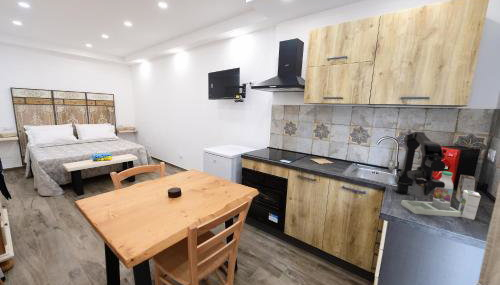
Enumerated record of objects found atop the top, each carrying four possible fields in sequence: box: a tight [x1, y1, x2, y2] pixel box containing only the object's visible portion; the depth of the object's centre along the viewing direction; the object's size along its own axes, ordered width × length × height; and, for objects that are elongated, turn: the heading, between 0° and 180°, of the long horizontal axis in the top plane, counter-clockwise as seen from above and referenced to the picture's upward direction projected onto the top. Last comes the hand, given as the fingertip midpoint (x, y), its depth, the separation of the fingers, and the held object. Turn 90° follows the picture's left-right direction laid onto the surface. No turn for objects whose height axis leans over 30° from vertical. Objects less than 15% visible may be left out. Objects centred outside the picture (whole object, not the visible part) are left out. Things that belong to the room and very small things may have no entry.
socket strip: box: [400, 199, 461, 218], centre depth 113 cm, size 11×23×4 cm, turn 87°
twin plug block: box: [432, 198, 452, 211], centre depth 112 cm, size 5×5×7 cm
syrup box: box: [457, 190, 482, 221], centre depth 107 cm, size 6×6×14 cm
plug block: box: [412, 183, 432, 199], centre depth 111 cm, size 5×5×7 cm
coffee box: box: [455, 174, 479, 203], centre depth 129 cm, size 9×6×16 cm
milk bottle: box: [432, 170, 454, 203], centre depth 123 cm, size 8×8×20 cm
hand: (421, 193), depth 112 cm, fingers closed on plug block, 5 cm apart
